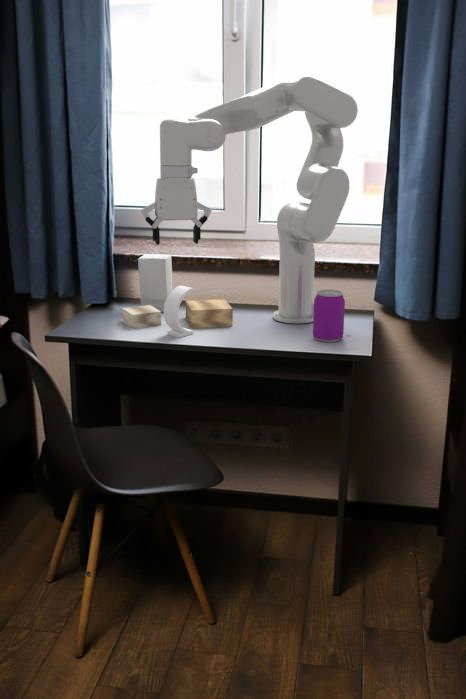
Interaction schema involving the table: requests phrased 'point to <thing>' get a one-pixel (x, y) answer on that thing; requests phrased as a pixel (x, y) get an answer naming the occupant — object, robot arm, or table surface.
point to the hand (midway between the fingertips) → (176, 243)
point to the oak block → (209, 313)
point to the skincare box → (155, 279)
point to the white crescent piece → (176, 311)
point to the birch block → (141, 316)
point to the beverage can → (328, 316)
